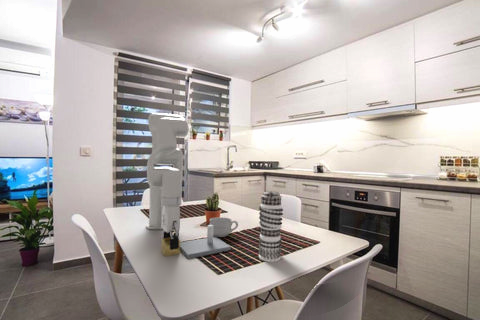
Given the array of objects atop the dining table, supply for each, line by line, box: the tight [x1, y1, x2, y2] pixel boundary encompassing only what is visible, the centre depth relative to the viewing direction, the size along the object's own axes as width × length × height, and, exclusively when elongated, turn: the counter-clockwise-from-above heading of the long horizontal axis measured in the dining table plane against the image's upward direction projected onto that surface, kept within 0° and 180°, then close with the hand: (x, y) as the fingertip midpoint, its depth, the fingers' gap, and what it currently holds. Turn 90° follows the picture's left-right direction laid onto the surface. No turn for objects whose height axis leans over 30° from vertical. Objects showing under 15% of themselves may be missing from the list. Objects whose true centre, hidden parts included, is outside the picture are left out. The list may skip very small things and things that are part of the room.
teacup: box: [209, 216, 239, 238], centre depth 117 cm, size 14×11×8 cm
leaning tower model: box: [258, 190, 284, 263], centre depth 93 cm, size 9×9×25 cm
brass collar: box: [160, 237, 181, 257], centre depth 95 cm, size 6×6×5 cm
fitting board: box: [180, 224, 231, 259], centre depth 100 cm, size 14×18×9 cm
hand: (170, 245), depth 95 cm, fingers open, 9 cm apart
